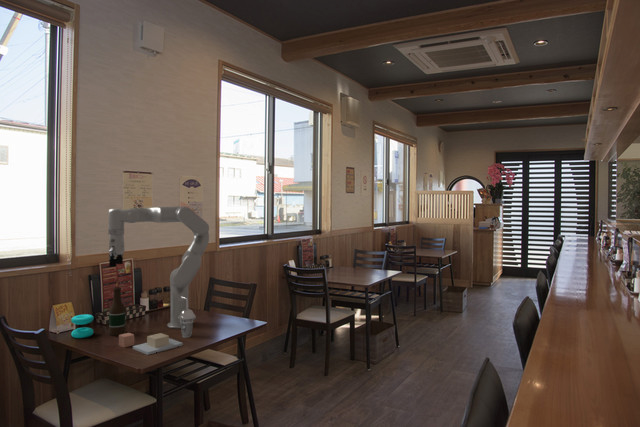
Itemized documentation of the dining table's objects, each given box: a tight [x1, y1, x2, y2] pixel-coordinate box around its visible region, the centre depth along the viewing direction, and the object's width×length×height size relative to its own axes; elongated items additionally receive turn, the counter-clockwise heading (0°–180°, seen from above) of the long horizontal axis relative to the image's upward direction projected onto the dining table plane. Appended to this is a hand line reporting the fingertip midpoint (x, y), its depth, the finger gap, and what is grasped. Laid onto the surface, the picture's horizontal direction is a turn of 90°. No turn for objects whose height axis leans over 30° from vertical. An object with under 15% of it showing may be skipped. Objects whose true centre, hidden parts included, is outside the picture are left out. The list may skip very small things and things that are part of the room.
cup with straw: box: [178, 296, 196, 339], centre depth 231 cm, size 8×9×20 cm
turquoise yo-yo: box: [71, 313, 95, 339], centre depth 230 cm, size 10×10×10 cm
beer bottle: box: [108, 286, 127, 337], centre depth 233 cm, size 8×8×24 cm
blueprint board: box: [132, 332, 184, 356], centre depth 213 cm, size 18×13×5 cm
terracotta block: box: [118, 332, 135, 348], centre depth 216 cm, size 5×5×5 cm
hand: (116, 265), depth 236 cm, fingers open, 9 cm apart
